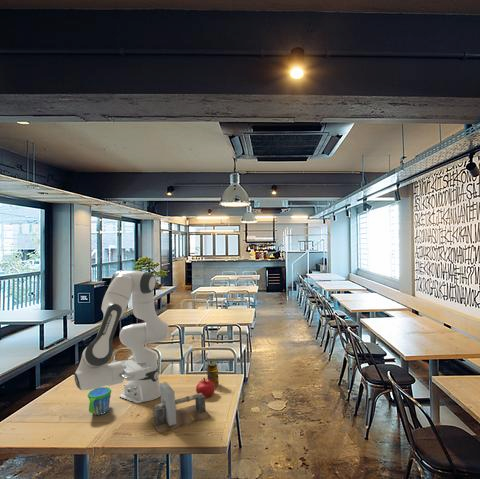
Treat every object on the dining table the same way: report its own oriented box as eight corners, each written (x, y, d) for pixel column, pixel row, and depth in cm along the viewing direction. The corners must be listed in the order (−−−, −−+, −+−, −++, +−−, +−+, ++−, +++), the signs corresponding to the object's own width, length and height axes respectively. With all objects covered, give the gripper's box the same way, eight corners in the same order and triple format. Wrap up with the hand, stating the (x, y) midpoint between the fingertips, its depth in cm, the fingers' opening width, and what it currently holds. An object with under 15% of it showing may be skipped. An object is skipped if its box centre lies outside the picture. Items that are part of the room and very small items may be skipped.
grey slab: (169, 425, 155) (167, 393, 155) (161, 413, 166) (159, 383, 166) (176, 423, 156) (174, 391, 156) (167, 411, 168) (166, 381, 168)
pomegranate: (217, 397, 184) (216, 379, 183) (198, 400, 181) (197, 382, 180) (213, 389, 193) (212, 372, 193) (194, 392, 190) (194, 375, 190)
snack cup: (99, 421, 165) (98, 399, 165) (80, 419, 168) (79, 398, 168) (119, 405, 180) (118, 385, 180) (101, 403, 183) (100, 384, 183)
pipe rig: (158, 433, 152) (157, 412, 152) (150, 419, 164) (149, 399, 164) (210, 417, 163) (209, 397, 163) (199, 405, 176) (198, 387, 175)
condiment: (222, 385, 198) (220, 363, 198) (210, 390, 192) (209, 368, 192) (213, 381, 203) (212, 361, 203) (201, 386, 197) (200, 365, 197)
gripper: (123, 371, 141) (156, 363, 149) (111, 360, 158) (141, 354, 166) (123, 387, 141) (157, 379, 148) (111, 374, 158) (142, 368, 166)
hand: (149, 366), depth 157 cm, fingers open, 8 cm apart
